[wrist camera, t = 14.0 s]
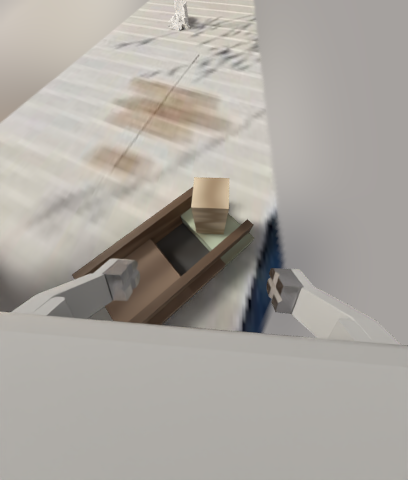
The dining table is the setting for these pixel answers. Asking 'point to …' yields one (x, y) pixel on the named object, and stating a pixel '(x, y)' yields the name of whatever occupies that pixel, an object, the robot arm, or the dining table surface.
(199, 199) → the beech block
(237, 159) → the dining table surface
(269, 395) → the robot arm
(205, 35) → the dining table surface
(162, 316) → the channel deck
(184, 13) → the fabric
